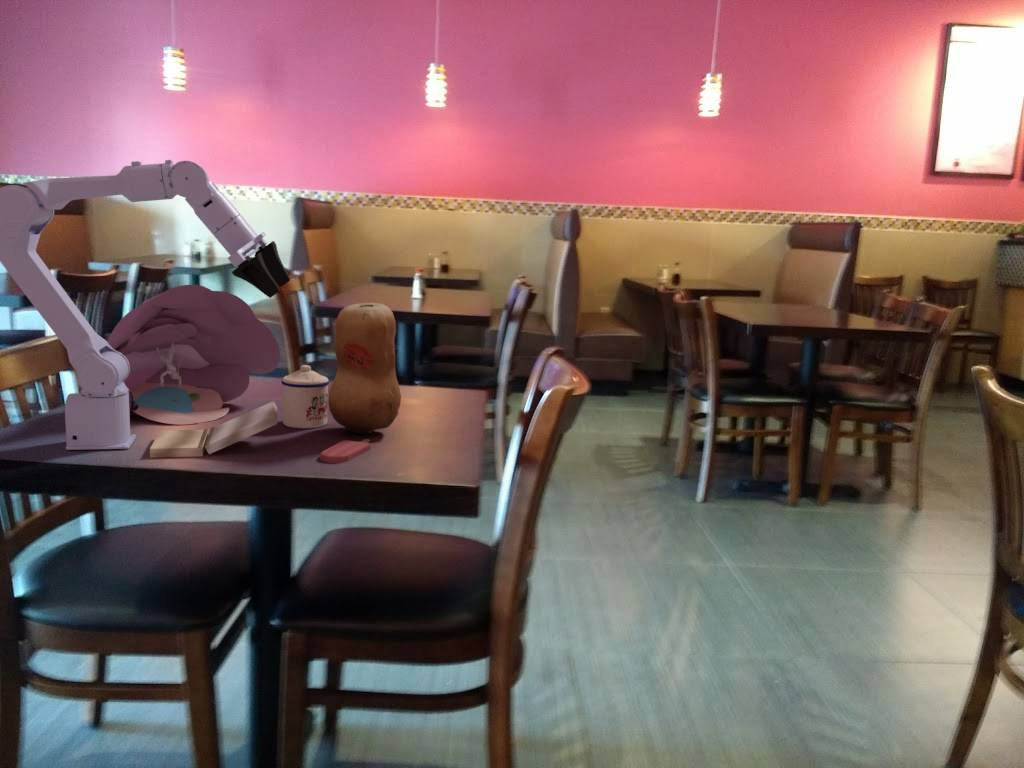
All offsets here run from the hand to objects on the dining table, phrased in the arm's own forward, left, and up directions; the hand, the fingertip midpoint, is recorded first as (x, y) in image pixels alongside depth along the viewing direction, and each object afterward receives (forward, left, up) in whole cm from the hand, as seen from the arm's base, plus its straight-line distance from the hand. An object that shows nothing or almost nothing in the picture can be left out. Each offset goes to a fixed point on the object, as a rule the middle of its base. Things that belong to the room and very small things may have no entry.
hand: (280, 288), depth 136 cm
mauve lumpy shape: (-19, +24, -28) cm, 41 cm away
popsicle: (+12, -7, -28) cm, 31 cm away
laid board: (-16, -2, -28) cm, 32 cm away
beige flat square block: (-6, -2, -25) cm, 26 cm away
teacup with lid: (+6, +15, -28) cm, 32 cm away
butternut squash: (+16, +6, -28) cm, 32 cm away
